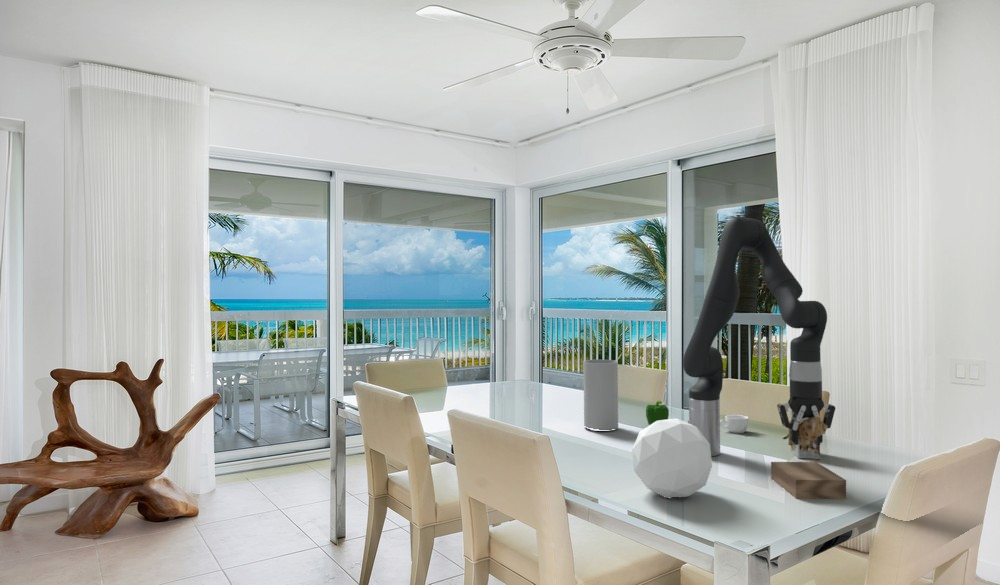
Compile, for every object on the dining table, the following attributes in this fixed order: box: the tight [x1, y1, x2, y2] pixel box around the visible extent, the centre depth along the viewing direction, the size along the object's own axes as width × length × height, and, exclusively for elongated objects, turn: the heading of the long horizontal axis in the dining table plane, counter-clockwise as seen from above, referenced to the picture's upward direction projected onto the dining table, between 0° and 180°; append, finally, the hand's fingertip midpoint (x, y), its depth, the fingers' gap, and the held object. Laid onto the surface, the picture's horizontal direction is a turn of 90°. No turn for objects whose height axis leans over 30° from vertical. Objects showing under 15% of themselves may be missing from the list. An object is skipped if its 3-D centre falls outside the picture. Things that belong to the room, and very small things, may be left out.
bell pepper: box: [645, 400, 670, 426], centre depth 234 cm, size 8×8×10 cm
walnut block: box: [770, 461, 847, 500], centre depth 161 cm, size 12×16×5 cm
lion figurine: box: [782, 416, 829, 452], centre depth 162 cm, size 15×5×9 cm, turn 14°
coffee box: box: [789, 407, 821, 460], centre depth 192 cm, size 9×6×16 cm
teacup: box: [720, 414, 749, 434], centre depth 223 cm, size 10×8×5 cm
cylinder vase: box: [582, 359, 619, 430], centre depth 231 cm, size 12×12×25 cm
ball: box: [631, 417, 713, 498], centre depth 157 cm, size 19×20×20 cm
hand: (806, 444), depth 161 cm, fingers closed on lion figurine, 4 cm apart
